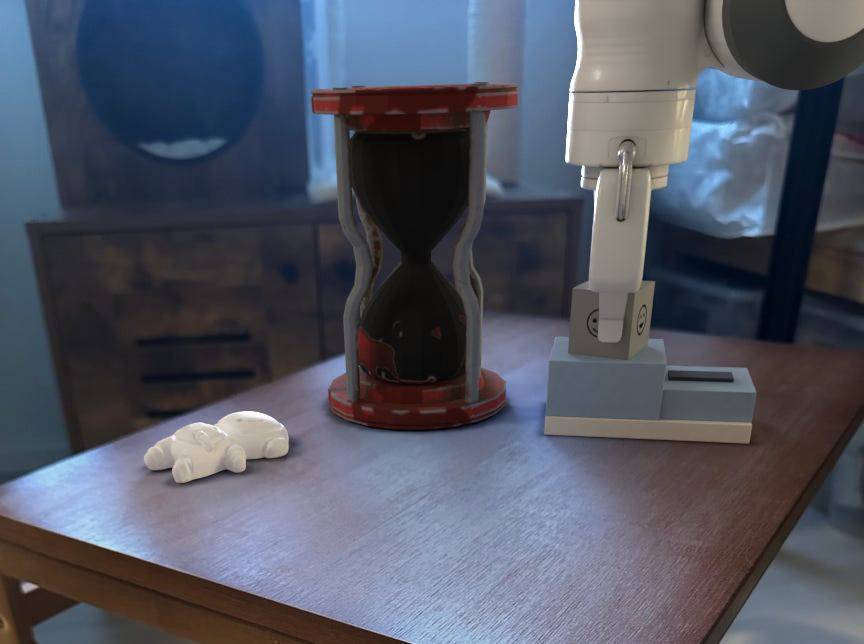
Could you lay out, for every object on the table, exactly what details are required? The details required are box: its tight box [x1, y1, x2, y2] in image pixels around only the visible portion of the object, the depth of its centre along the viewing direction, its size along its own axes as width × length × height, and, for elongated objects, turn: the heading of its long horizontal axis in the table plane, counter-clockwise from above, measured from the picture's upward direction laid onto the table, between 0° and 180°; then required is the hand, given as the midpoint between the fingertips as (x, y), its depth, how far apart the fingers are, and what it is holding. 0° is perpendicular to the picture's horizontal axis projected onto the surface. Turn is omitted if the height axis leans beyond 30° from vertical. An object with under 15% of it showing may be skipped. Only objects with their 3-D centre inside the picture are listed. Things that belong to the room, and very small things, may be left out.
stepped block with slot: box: [543, 336, 758, 445], centre depth 78 cm, size 16×8×6 cm, turn 77°
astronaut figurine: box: [143, 410, 290, 484], centre depth 74 cm, size 9×12×3 cm
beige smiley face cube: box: [568, 279, 656, 360], centre depth 76 cm, size 5×5×5 cm
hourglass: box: [310, 81, 519, 431], centre depth 79 cm, size 16×16×25 cm
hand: (609, 330), depth 76 cm, fingers closed on beige smiley face cube, 5 cm apart
